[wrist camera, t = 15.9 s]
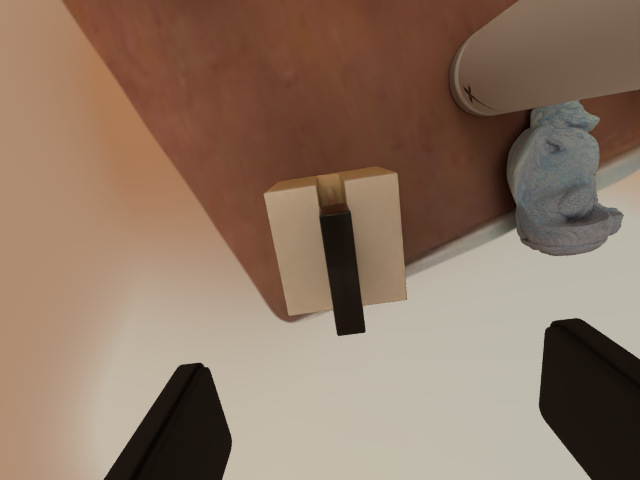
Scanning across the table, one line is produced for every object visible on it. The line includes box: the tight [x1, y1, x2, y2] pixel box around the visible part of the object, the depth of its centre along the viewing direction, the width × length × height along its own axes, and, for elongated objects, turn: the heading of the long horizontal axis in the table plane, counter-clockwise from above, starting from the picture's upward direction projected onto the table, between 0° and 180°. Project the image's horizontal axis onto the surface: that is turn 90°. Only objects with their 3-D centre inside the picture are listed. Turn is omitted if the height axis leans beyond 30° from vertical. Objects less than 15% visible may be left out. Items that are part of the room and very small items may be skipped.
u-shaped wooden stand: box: [264, 166, 407, 316], centre depth 24 cm, size 9×9×7 cm
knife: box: [319, 186, 365, 336], centre depth 21 cm, size 7×2×11 cm, turn 9°
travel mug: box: [449, 0, 640, 117], centre depth 14 cm, size 6×7×20 cm
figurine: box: [507, 100, 624, 256], centre depth 24 cm, size 8×12×7 cm, turn 19°
